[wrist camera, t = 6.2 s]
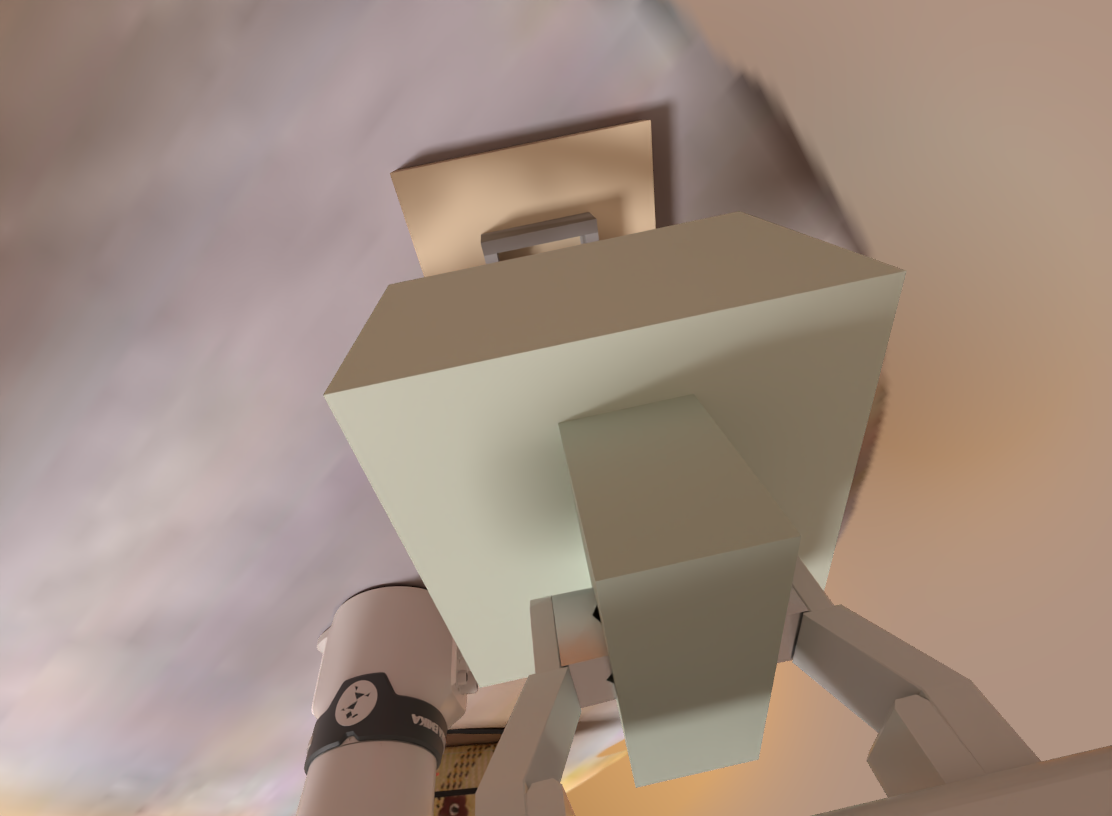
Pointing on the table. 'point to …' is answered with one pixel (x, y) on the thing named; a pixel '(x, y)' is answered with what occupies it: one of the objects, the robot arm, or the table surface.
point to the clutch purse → (461, 775)
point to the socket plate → (529, 197)
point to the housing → (628, 455)
